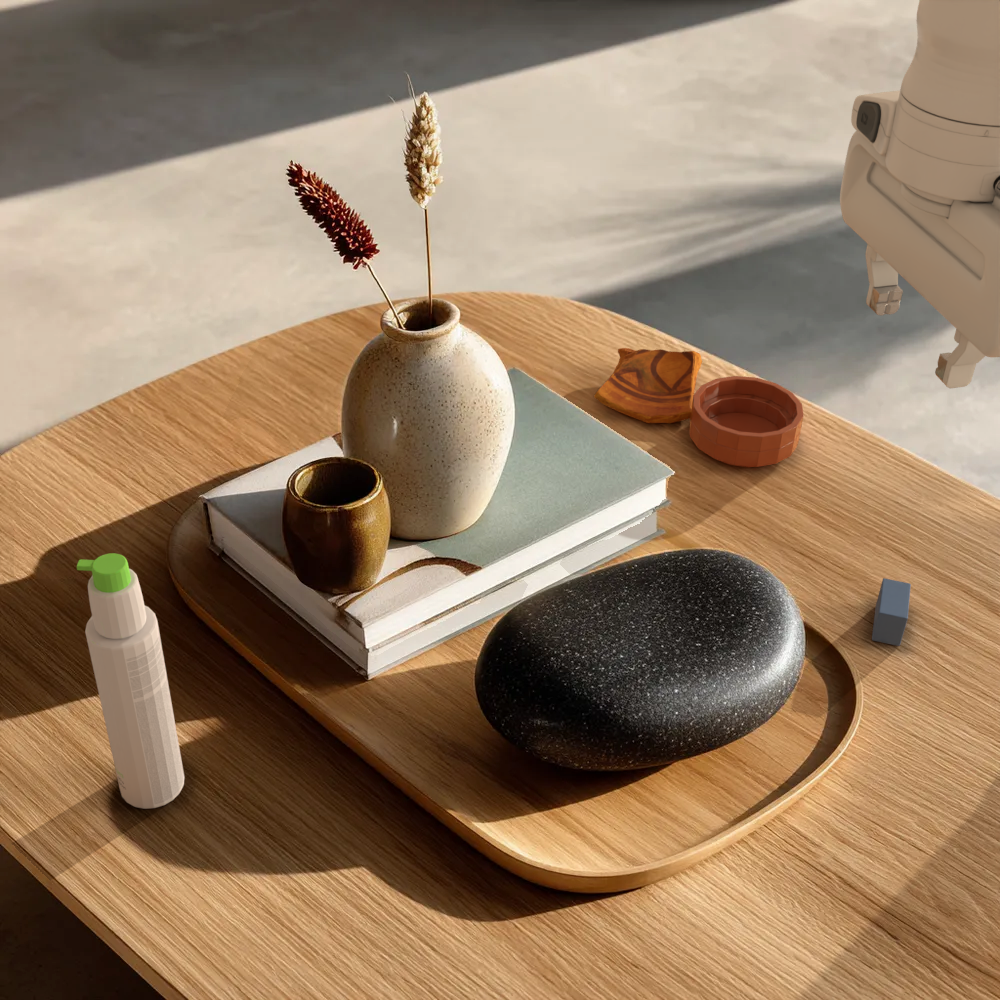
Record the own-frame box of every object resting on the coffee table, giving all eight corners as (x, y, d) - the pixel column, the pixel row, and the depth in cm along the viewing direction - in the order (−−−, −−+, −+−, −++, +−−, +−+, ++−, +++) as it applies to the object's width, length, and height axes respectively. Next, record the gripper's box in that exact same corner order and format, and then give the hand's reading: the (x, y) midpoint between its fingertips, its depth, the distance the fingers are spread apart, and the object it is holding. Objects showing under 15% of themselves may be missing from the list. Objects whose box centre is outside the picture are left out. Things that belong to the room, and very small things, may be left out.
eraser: (875, 605, 109) (883, 577, 107) (903, 611, 109) (911, 583, 107) (871, 640, 106) (879, 612, 104) (899, 646, 105) (907, 618, 103)
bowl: (739, 399, 133) (744, 365, 131) (818, 446, 127) (825, 411, 124) (666, 434, 128) (670, 399, 125) (745, 484, 122) (751, 449, 119)
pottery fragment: (703, 348, 135) (699, 385, 126) (699, 390, 137) (695, 429, 128) (604, 339, 136) (593, 375, 127) (601, 381, 138) (591, 419, 129)
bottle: (144, 752, 94) (100, 533, 82) (197, 772, 93) (160, 552, 81) (107, 797, 91) (56, 575, 79) (161, 817, 90) (118, 595, 78)
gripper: (1115, 215, 73) (1045, 424, 81) (928, 82, 89) (885, 270, 97) (1014, 225, 72) (953, 437, 80) (841, 89, 87) (806, 278, 96)
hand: (915, 344), depth 89 cm, fingers open, 8 cm apart
